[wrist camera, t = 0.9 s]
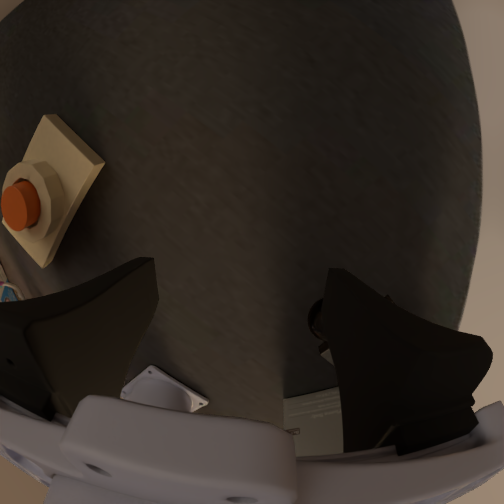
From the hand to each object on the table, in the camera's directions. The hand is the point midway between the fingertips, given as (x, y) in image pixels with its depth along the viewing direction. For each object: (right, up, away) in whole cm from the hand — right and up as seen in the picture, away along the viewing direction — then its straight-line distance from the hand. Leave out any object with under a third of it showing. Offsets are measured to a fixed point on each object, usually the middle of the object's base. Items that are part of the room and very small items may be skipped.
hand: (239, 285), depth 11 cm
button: (-17, +5, +5) cm, 19 cm away
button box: (-17, +7, +8) cm, 20 cm away
